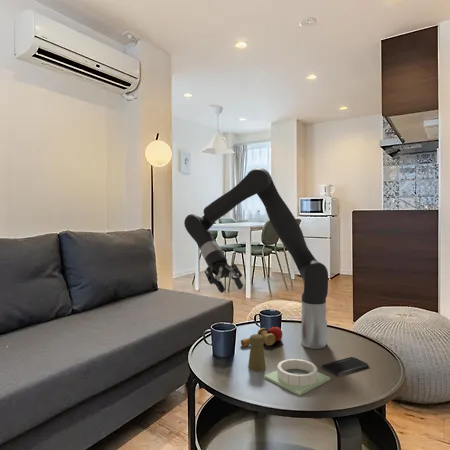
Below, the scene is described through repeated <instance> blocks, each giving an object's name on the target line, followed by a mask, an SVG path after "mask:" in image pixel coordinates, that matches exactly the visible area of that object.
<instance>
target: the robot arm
mask: <svg viewBox="0 0 450 450" xmlns="http://www.w3.org/2000/svg"><path fill="white" fill-rule="evenodd" d="M275 185H276V184H275V183H274V181H273V178H272V176H271V174H270V172H269V171H268V170H267V169H265V168H263V167H256V168H253V169H251V170H250V171H249V172H248V173H246V175H245V176H244V177H243V178H242V180H241V181H239V182H238V183H237V184H236V185H235V186H234V187H232V188H231V189H230V190H228V191H227V192H225V193H224V194H222V195H221V196H219V197H218V198H216V199H215V200H213V201H212V202H210V203H209V204H208V205H207V206H205V207H204V208H203V216H199V215H197V214H194V213H192V214H191V213H190V214H188V215H187V216H185V219H184V227H185V231H187V233H188V235H190V237H191V238H192V239H193V240H194V241H195V242H196V245H197V247H198V249H199V250H200V253H201V255H202V258H203V259H204V261H205V263H206V266H207V267H206V269H204V274H205V276H206V279H207V281H208V283H209V284H210V285H213V284H214V285H215V286H216V288H217V289H218V291H219V292H220V293H221V294H223V293H224V292H225V291H226V288H225V286H224V284H223V283H222V281H221V279H223V278H225V279H226V278H228V279H229V280H232V281H233V282H234V284H235V285H236V287H237V289H238V290H240V291H241V290H242V289H243V287H244V284H243V282H242V280H241V278H242V276H243V274H242V272H241V271H240V269H239V267H238V266H237V265H236V263H233V264H232V265H229V264H228V259H227V257H226V256H225V254H224V252H223V250H222V249H221V247H220V245H219V244H218V243H217V241H216V240H215V238H214V236H213V234H212V233H211V232H210V231H209V230H210V229H211V228H212V226H214V224H215V223H216V222H217V221H218V220H219V219H221V218H222V217H224V216H225V215H226V214H228V213H229V212H230V211H232V210H233V209H234V208H235V207H237V206H238V205H239V204H241V203H242V202H244V201H245V200H247V199H249V198H251V197H253V196H255V195H257V197H259V199H260V201H261V203H262V204H263V206H264V208H265V209H264V210H265V212H266V214H267V216H268V220H269V223H270V225H271V227H272V228H273V231H274V232H275V234H276V235H277V237H278V239H279V240H280V242H281V243H282V245H283V246H284V247H285V249H286V251H288V253H289V255H290V256H291V257H292V259H293V261H294V263H295V265H296V268H297V270H298V272H299V275H300V277H301V279H303V292H302V294H301V345H302V346H303V347H305V348H307V349H312V350H313V349H314V350H319V349H324V348H326V345H327V344H328V342H327V341H328V338H327V337H328V321H327V313H326V311H327V296H328V294H329V293H328V291H329V273H328V272H329V271H328V268H327V267H326V266H325V264H324V263H322V262H320V261H318V260H317V259H316V258H315V256H314V255H313V253H312V252H311V250H310V249H309V247H308V245H307V242H306V240H305V237H304V234H303V231H302V228H301V227H300V224H299V223H298V221H297V219H296V217H295V216H294V215H293V213H292V211H291V209H290V208H289V207H288V205H287V204H286V202H285V201H284V200H283V198H282V197H281V195H280V193H279V192H278V189H277V188H276V186H275Z"/></svg>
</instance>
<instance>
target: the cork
mask: <svg viewBox="0 0 450 450" xmlns="http://www.w3.org/2000/svg"><path fill="white" fill-rule="evenodd" d="M248 338H249V343H250V345H249V346H250V350H249V357H248V364H247V368H248V369H249V370H250V371H252V372H263V371H265V370H266V368H267V366H266V358H265V352H264V345H265V343H264V342H265V340H264V337H263V336H262V335H259V334H258V333H257V334H255V333H254V334H252V335H250V336H249V337H248Z"/></svg>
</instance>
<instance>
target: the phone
mask: <svg viewBox="0 0 450 450" xmlns="http://www.w3.org/2000/svg"><path fill="white" fill-rule="evenodd" d="M369 367H370V364H369V363H367V362H365V361H363V360H360V359H358V358H357V357H354V356H350V357H346V358H342V359H338V360H334V361H330V362H327V363H323V364H321V369H322V370H324V371H326V372H328V373H329V374H331V375H333V376H335V377H343V376H345V375H348V374H351V373H355V372H359V371H362V370H366V369H369Z"/></svg>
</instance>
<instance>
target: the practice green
mask: <svg viewBox="0 0 450 450" xmlns="http://www.w3.org/2000/svg"><path fill="white" fill-rule="evenodd" d="M276 368H277V370H274V371H272V372H269V373H267V374H265V375H264V377H263V378H264V379H265V380H268V381H269V382H272V383H273V384H276V385H278V386H279V387H282V388H283V389H285V390H287V391H289V392H291V393H292V394H295V395H297V396H302V395H304V394H306V393H307V392H309V391H311V390H314V389H315V388H317V387H319V386H321V385H323V384H325V383H326V382H328V381H331V376H328V375H327V374H323V373H321V372H318V367H317V365H315V364H314V363H313V362H311V361H308V360H305V359H301V358H299V359H298V358H290V359H284V360H282V361H279V362H278V364H277V366H276Z"/></svg>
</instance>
